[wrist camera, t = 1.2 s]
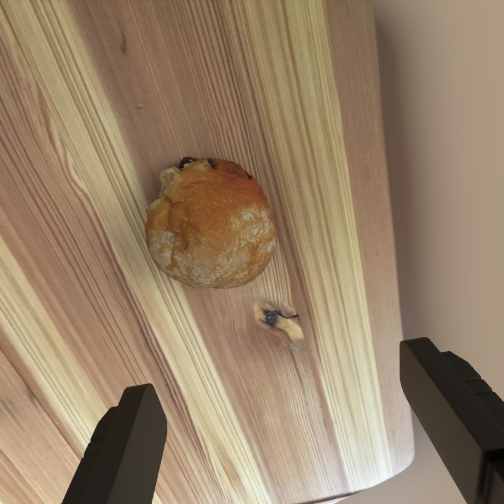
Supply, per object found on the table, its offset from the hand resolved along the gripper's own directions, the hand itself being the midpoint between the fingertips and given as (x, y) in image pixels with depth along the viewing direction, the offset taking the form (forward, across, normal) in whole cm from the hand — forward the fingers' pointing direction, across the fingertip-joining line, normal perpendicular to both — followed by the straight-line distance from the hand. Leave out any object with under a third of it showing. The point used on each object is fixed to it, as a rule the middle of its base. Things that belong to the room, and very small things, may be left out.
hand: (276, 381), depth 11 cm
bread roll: (+18, +3, 0) cm, 18 cm away
